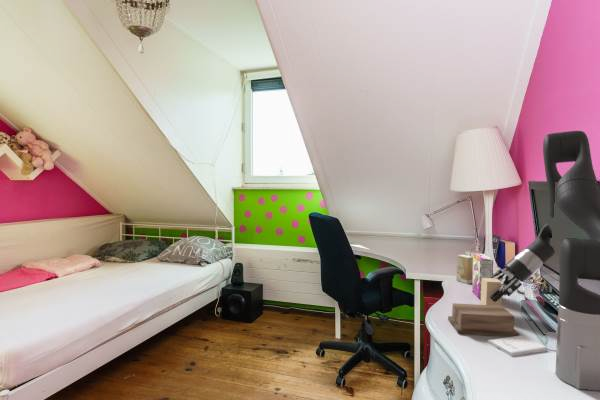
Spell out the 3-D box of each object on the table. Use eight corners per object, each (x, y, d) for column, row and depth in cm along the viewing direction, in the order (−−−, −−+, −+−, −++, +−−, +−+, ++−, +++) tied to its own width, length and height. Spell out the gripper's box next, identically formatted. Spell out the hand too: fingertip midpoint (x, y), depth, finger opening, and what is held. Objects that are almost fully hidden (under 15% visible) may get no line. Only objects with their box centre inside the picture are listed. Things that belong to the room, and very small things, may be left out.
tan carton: (501, 316, 123) (502, 282, 122) (485, 315, 124) (487, 281, 123) (495, 311, 128) (496, 278, 127) (480, 310, 129) (481, 277, 128)
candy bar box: (471, 291, 151) (472, 253, 150) (484, 292, 150) (485, 253, 149) (478, 300, 140) (480, 258, 139) (492, 301, 139) (494, 259, 138)
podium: (518, 337, 106) (519, 317, 106) (458, 333, 109) (458, 314, 108) (502, 322, 117) (503, 304, 117) (448, 319, 120) (448, 302, 119)
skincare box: (455, 280, 168) (456, 254, 167) (462, 279, 170) (463, 254, 169) (467, 284, 162) (468, 257, 161) (474, 283, 164) (474, 256, 163)
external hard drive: (547, 352, 98) (510, 358, 95) (521, 340, 106) (487, 344, 103) (547, 347, 98) (511, 352, 95) (521, 334, 106) (487, 339, 103)
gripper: (506, 253, 131) (472, 282, 133) (525, 261, 117) (487, 294, 119) (521, 267, 130) (487, 297, 133) (542, 278, 116) (503, 310, 118)
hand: (487, 295), depth 126 cm, fingers open, 8 cm apart
